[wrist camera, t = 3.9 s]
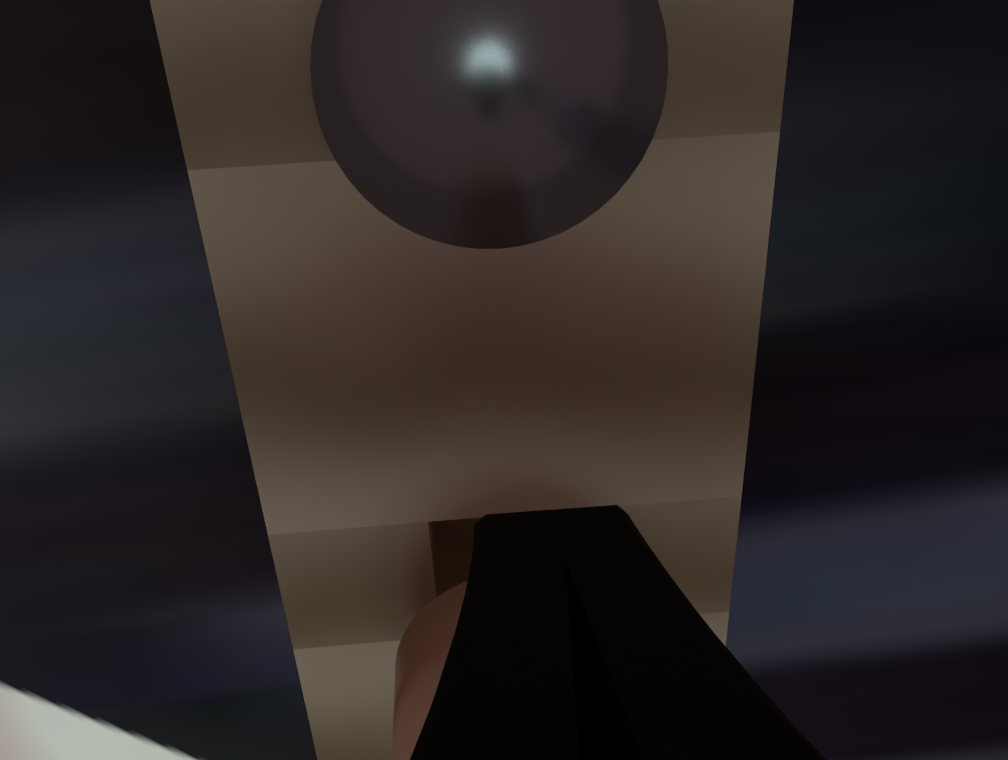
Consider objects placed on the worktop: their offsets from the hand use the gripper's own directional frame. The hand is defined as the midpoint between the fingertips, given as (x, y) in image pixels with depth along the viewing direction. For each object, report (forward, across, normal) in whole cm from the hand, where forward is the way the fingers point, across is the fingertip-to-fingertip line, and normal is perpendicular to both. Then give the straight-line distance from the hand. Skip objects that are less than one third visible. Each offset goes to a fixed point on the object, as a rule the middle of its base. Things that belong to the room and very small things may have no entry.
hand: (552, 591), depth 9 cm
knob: (+9, 0, -4) cm, 10 cm away
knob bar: (+10, 0, +6) cm, 12 cm away
